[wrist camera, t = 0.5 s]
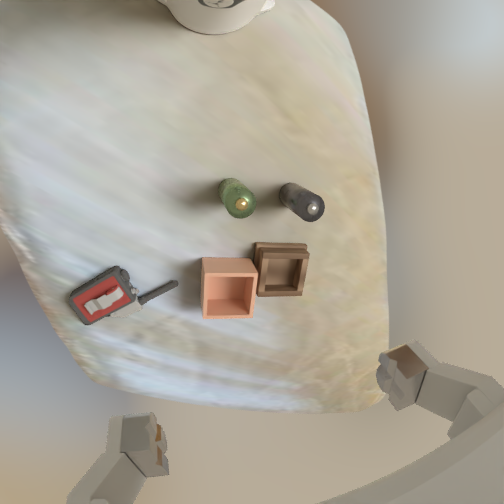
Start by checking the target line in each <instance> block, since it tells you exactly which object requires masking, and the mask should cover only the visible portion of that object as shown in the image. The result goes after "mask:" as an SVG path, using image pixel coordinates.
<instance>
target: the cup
mask: <svg viewBox="0 0 504 504" xmlns="http://www.w3.org/2000/svg"><path fill="white" fill-rule="evenodd" d="M257 279H258V272H257V270H256V268H255V266H254V264H253V263H252V261H251V259H250V258H212V257H202V268H201V292H200V302H201V309H202V316H203V319H226V318H253V310H254V303H255V295H256V287H257Z"/></svg>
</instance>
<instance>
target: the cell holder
mask: <svg viewBox="0 0 504 504" xmlns="http://www.w3.org/2000/svg"><path fill="white" fill-rule="evenodd" d="M309 255H310V254H309V253H308V252H307V245H306V244H301V243H266V242H256V246H255V255H254V263H253V264H254V266H255V268H256V270H257V272H258V279H257V287H256V294H257V296H258V297H271V296H302V292H303V287H304V281H305V276H306V271H307V266H308V260H309Z"/></svg>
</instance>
